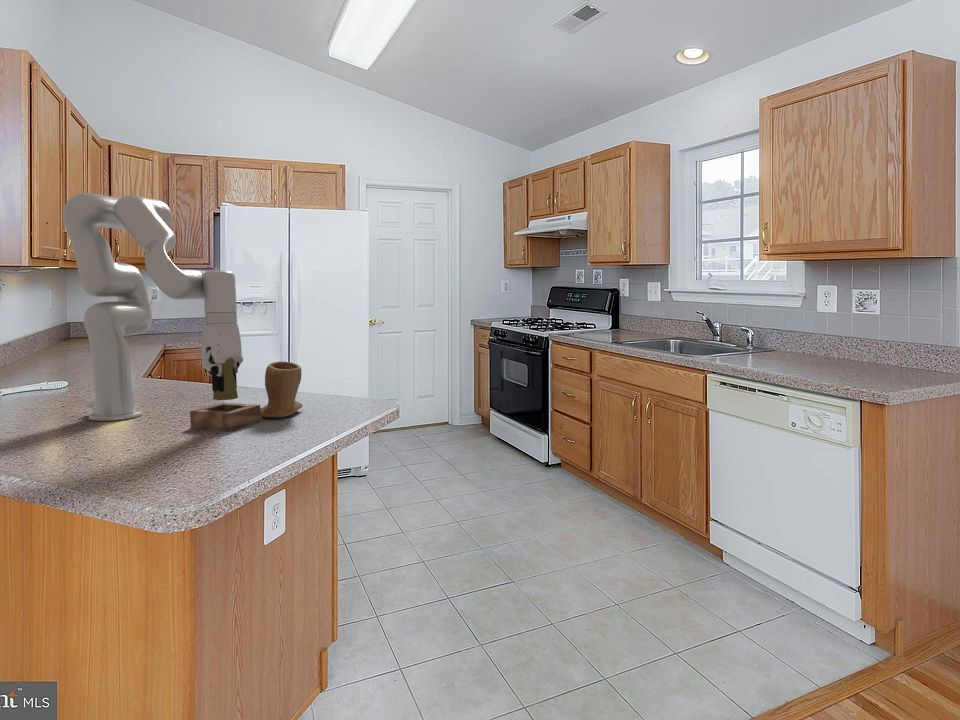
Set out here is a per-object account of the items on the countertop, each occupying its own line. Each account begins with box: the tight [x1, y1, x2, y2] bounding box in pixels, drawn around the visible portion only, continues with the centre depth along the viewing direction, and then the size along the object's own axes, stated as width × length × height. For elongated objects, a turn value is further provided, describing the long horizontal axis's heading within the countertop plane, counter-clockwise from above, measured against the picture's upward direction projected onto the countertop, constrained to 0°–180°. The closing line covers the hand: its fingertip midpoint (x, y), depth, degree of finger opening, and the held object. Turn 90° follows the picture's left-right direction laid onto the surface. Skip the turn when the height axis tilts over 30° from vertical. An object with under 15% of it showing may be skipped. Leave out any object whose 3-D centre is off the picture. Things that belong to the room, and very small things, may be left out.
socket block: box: [189, 401, 262, 433], centre depth 160 cm, size 12×12×4 cm
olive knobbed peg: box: [212, 358, 239, 401], centre depth 159 cm, size 6×6×11 cm
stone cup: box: [260, 360, 303, 418], centre depth 172 cm, size 15×12×15 cm
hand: (224, 389), depth 159 cm, fingers closed on olive knobbed peg, 4 cm apart
